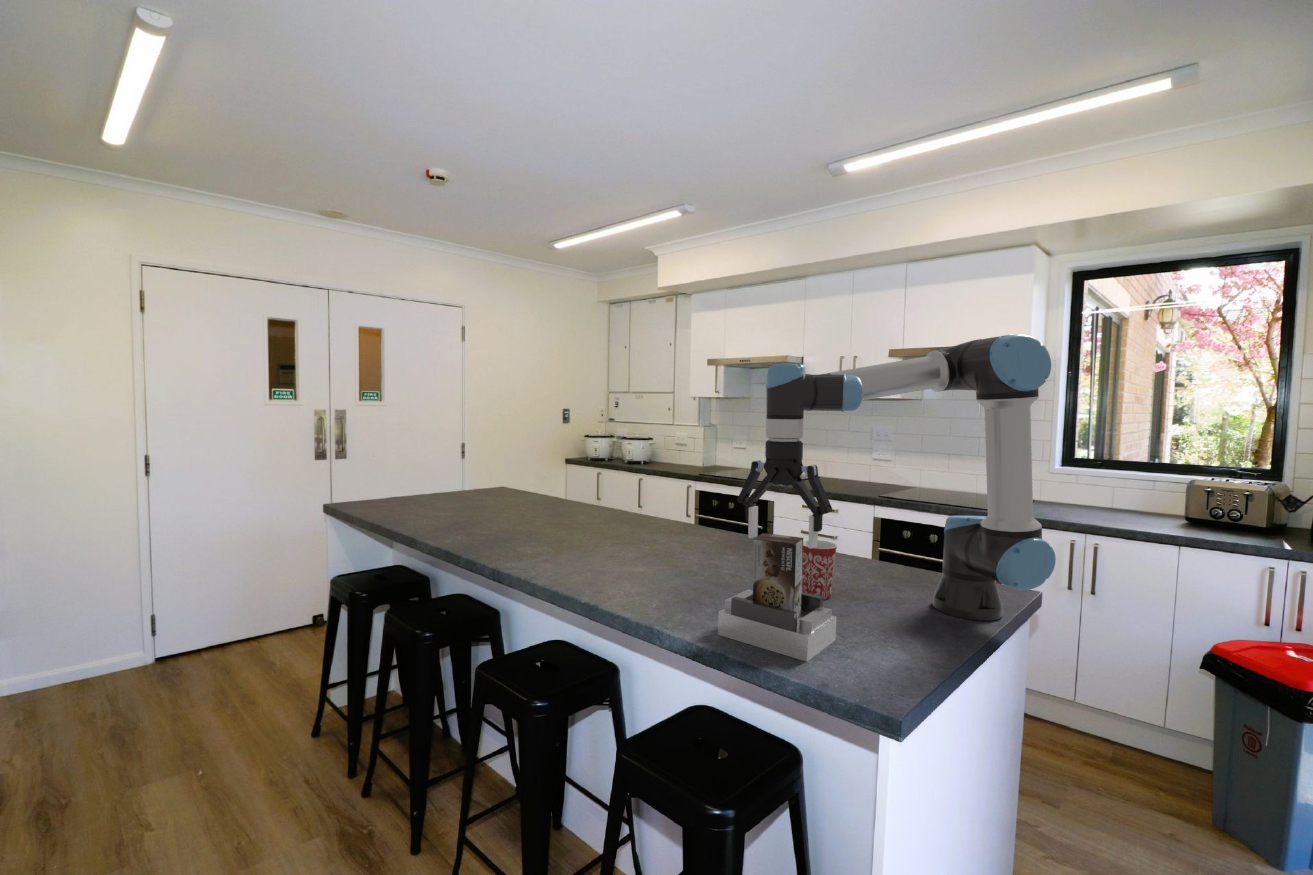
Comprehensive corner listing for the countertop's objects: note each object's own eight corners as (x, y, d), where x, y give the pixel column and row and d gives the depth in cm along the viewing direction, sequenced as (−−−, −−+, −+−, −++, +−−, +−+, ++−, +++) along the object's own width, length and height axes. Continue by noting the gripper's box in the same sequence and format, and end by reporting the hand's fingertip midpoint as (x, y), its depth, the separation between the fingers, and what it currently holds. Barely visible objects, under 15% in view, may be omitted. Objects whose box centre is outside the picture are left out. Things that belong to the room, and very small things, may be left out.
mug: (826, 604, 150) (828, 549, 149) (792, 595, 156) (794, 543, 155) (846, 592, 160) (848, 541, 159) (813, 584, 166) (815, 535, 165)
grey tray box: (835, 640, 127) (837, 600, 127) (807, 661, 116) (808, 617, 116) (750, 616, 140) (752, 580, 139) (717, 634, 129) (719, 594, 128)
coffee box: (802, 613, 129) (805, 537, 128) (794, 622, 123) (797, 543, 122) (760, 605, 133) (762, 531, 132) (750, 614, 127) (753, 537, 126)
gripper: (850, 441, 121) (847, 547, 122) (740, 436, 136) (738, 530, 137) (836, 444, 115) (832, 555, 116) (722, 437, 130) (720, 536, 132)
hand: (781, 542), depth 127 cm, fingers open, 13 cm apart
